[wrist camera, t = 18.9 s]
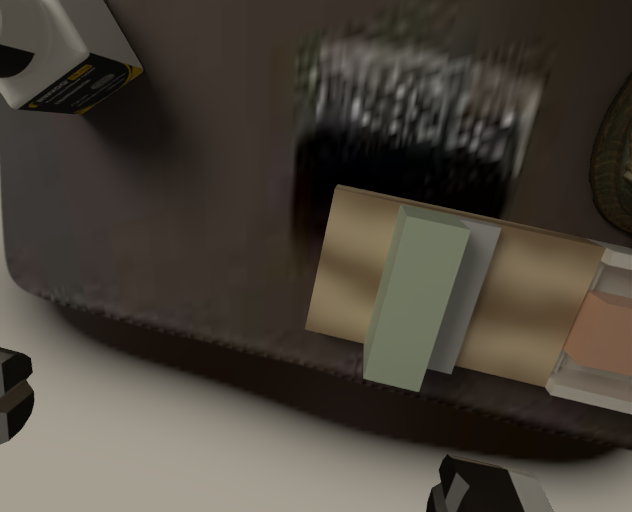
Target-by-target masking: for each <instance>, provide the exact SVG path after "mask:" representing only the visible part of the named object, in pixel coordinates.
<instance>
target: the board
mask: <svg viewBox="0 0 632 512" xmlns="http://www.w3.org/2000/svg"><path fill="white" fill-rule="evenodd" d="M400 204H404V205H409V206H413V207H418V208H423V209H427V210H432V211H437V212H441V213H446V214H451V215H455V216H460V217H465V218H469V219H474V220H479V221H484V222H488V223H493V224H496V225H497V226H499V227H500V228H502V229H501V231H500V234H499V237H498V240H497V243H496V246H495V249H494V252H493V255H492V258H491V260H490V263H489V266H488V269H487V272H486V275H485V278H484V281H483V284H482V287H481V289H480V292H479V295H478V298H477V301H476V304H475V307H474V310H473V313H472V316H471V318H470V321H469V324H468V327H467V330H466V333H465V336H464V339H463V342H462V344H461V347H460V350H459V353H458V356H457V359H456V362H455V366H459V367H463V368H467V369H471V370H475V371H480V372H484V373H488V374H492V375H496V376H500V377H505V378H509V379H513V380H517V381H521V382H525V383H529V384H534V385H538V386H542V387H545V386H546V384H547V382H548V379H549V377H550V375H551V373H552V370H553V368H554V366H555V363H556V361H557V359H558V357H559V354H560V352H561V350H562V348H563V345H564V343H565V341H566V338H567V336H568V334H569V332H570V329H571V327H572V325H573V322H574V320H575V318H576V316H577V313H578V311H579V309H580V307H581V304H582V302H583V300H584V297H585V295H586V293H587V291H588V288H589V286H590V284H591V281H592V279H593V277H594V275H595V272H596V270H597V268H598V265H599V263H600V261H601V259H602V256H603V254H604V252H605V250H606V248H605V247H603V246H601V245H599V244H597V243H594V242H592V241H590V240H588V239H586V238H582V237H578V236H573V235H568V234H564V233H559V232H555V231H550V230H546V229H541V228H536V227H532V226H527V225H523V224H518V223H513V222H509V221H504V220H500V219H495V218H490V217H486V216H481V215H477V214H472V213H467V212H463V211H458V210H454V209H449V208H445V207H440V206H435V205H431V204H426V203H422V202H417V201H412V200H408V199H403V198H399V197H394V196H389V195H385V194H380V193H376V192H371V191H366V190H362V189H357V188H353V187H348V186H344V185H339V184H338V185H337V186H336V188H335V191H334V196H333V201H332V205H331V210H330V215H329V219H328V224H327V229H326V233H325V238H324V243H323V247H322V252H321V257H320V262H319V266H318V271H317V276H316V280H315V285H314V290H313V294H312V299H311V304H310V308H309V313H308V318H307V322H306V327H305V330H309V331H314V332H318V333H322V334H326V335H330V336H334V337H339V338H343V339H347V340H351V341H355V342H359V343H363V344H364V342H365V338H366V334H367V331H368V327H369V323H370V319H371V315H372V311H373V308H374V304H375V300H376V296H377V292H378V289H379V285H380V281H381V277H382V273H383V269H384V266H385V262H386V258H387V254H388V250H389V246H390V243H391V239H392V235H393V231H394V227H395V223H396V220H397V216H398V212H399V208H400Z"/></svg>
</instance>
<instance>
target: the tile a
mask: <svg viewBox="0 0 632 512" xmlns="http://www.w3.org/2000/svg"><path fill="white" fill-rule="evenodd" d="M562 349H563V350H564V351H565V352H566V353H567V354H568V355H569V356H570V357H571V358H572V359H573V360H574V361H575V362H576V363H577V364H578V365H582V366H587V367H592V368H596V369H601V370H606V371H610V372H615V373H620V374H624V375H629V376H632V298H628V297H623V296H619V295H614V294H609V293H605V292H600V291H595V290H591V289H588V291H587V293H586V295H585V297H584V300H583V302H582V304H581V307H580V309H579V311H578V313H577V316H576V318H575V320H574V322H573V325H572V327H571V329H570V332H569V334H568V336H567V338H566V341H565V343H564V345H563V348H562Z"/></svg>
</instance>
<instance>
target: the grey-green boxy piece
mask: <svg viewBox="0 0 632 512" xmlns="http://www.w3.org/2000/svg"><path fill="white" fill-rule="evenodd" d="M501 229H502V228H500V227H499V226H497V225H496V224H493V223H488V222H484V221H479V220H474V219H469V218H465V217H460V216H455V215H451V214H446V213H441V212H437V211H432V210H427V209H423V208H418V207H413V206H409V205H404V204H400V208H399V212H398V216H397V220H396V223H395V227H394V231H393V235H392V239H391V243H390V246H389V250H388V254H387V258H386V262H385V266H384V269H383V273H382V277H381V281H380V285H379V289H378V292H377V296H376V300H375V304H374V308H373V311H372V315H371V319H370V323H369V327H368V331H367V334H366V338H365V342H364V370H363V379H367V380H371V381H375V382H380V383H384V384H388V385H392V386H396V387H400V388H404V389H408V390H413V391H417V392H419V390H420V387H421V384H422V381H423V378H424V375H425V371H426V368H427V369H431V370H435V371H439V372H444V373H448V374H451V373H452V371H453V368H454V365H455V362H456V359H457V356H458V353H459V350H460V347H461V344H462V342H463V339H464V336H465V333H466V330H467V327H468V324H469V321H470V318H471V316H472V313H473V310H474V307H475V304H476V301H477V298H478V295H479V292H480V289H481V287H482V284H483V281H484V278H485V275H486V272H487V269H488V266H489V263H490V260H491V258H492V255H493V252H494V249H495V246H496V243H497V240H498V237H499V234H500V231H501Z"/></svg>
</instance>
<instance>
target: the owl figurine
mask: <svg viewBox="0 0 632 512" xmlns="http://www.w3.org/2000/svg"><path fill="white" fill-rule="evenodd" d="M591 155H592V157H591V161H590V162H591V164H590V171H589V172H590V174H589V181H590V182H591V187H592V190H593V191H594V195H595V196H594V198H593V201H594V203H595V207H597V209H598V212H599V213H600V214H601V215H602V216H603V217H604V218H605V219H606V220H608V221H609V222H610V223H612V224H613V225H614V226H616V227H617V228H620V229H622V230H624V231H626V232H631V233H632V73H631V74H630V75H629V77H628V78H627V79H626V81H625V83H624V85H623V86H622V87H621V88H620V91H619V92H618V94H617V95H616V96H615V98H614V100H613V102H612V104H611V105H610V106H609V108H608V111H607V112H606V115H605V117H604V120H603V121H602V123H601V127H600V129H599V133H598V134H597V137H596V140H595V144H594V146H593V152H592V154H591Z"/></svg>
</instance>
